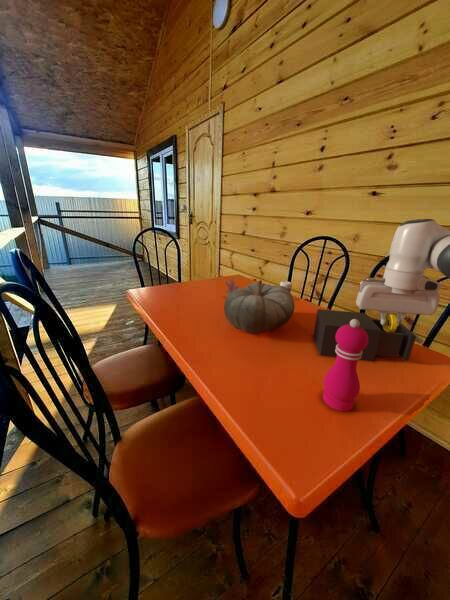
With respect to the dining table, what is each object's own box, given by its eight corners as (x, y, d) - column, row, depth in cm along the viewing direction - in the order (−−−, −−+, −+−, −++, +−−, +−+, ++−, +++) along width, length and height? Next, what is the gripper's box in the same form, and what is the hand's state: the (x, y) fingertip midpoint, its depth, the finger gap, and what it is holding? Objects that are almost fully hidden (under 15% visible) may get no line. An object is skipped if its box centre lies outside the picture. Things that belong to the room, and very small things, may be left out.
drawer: (404, 343, 82) (411, 320, 79) (424, 362, 71) (433, 337, 69) (346, 337, 85) (350, 315, 82) (357, 355, 74) (363, 330, 71)
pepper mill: (323, 386, 61) (338, 309, 55) (356, 397, 58) (376, 317, 51) (317, 404, 56) (333, 321, 49) (353, 418, 52) (375, 330, 45)
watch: (396, 336, 73) (402, 317, 71) (386, 335, 73) (391, 316, 71) (387, 327, 79) (392, 310, 77) (378, 327, 79) (382, 309, 77)
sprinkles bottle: (276, 311, 107) (279, 280, 103) (287, 312, 107) (291, 281, 102) (277, 315, 103) (281, 283, 98) (289, 316, 103) (293, 284, 98)
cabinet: (359, 340, 85) (365, 313, 82) (373, 361, 73) (381, 330, 70) (313, 335, 87) (317, 309, 84) (320, 355, 75) (325, 325, 72)
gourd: (305, 317, 95) (304, 273, 88) (278, 354, 77) (274, 303, 70) (247, 308, 109) (242, 269, 102) (213, 338, 91) (204, 294, 85)
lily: (221, 305, 114) (231, 289, 110) (211, 289, 122) (221, 273, 118) (241, 308, 122) (251, 293, 117) (231, 293, 129) (240, 278, 125)
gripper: (365, 279, 69) (355, 325, 74) (449, 285, 66) (433, 333, 71) (358, 274, 75) (349, 317, 80) (434, 279, 72) (420, 324, 77)
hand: (389, 325), depth 75 cm, fingers closed on watch
